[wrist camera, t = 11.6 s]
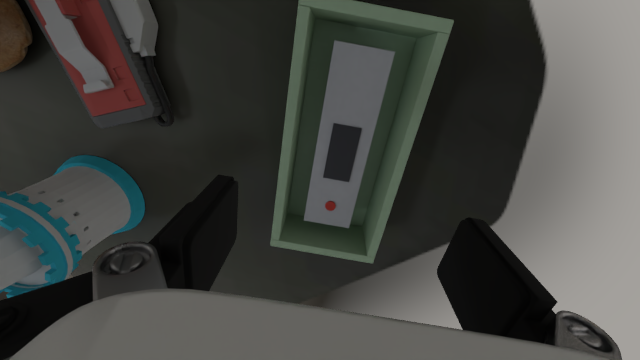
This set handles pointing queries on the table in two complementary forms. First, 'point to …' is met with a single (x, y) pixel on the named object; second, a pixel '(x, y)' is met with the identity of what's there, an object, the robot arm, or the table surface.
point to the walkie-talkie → (107, 56)
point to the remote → (346, 130)
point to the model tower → (63, 221)
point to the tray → (390, 132)
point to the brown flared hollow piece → (13, 34)
